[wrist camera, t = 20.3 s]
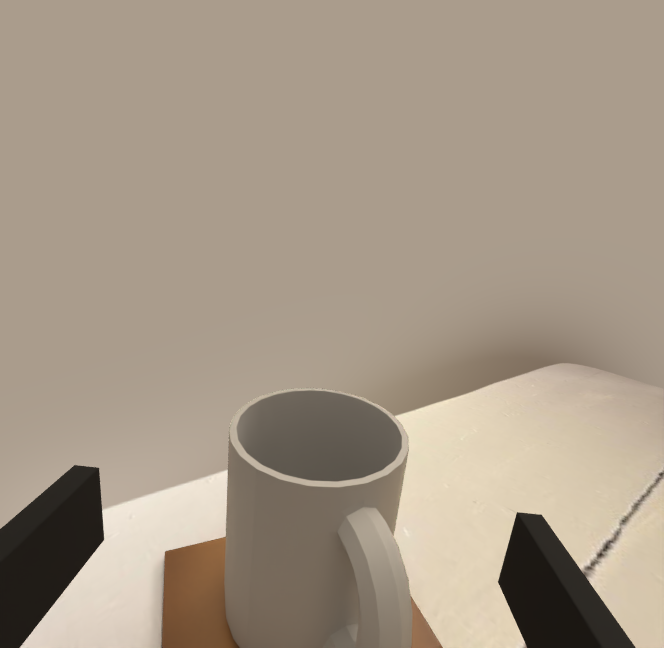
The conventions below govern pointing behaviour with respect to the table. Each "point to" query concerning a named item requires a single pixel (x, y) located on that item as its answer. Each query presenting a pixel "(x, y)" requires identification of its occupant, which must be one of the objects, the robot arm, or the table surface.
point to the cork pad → (220, 601)
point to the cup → (315, 523)
